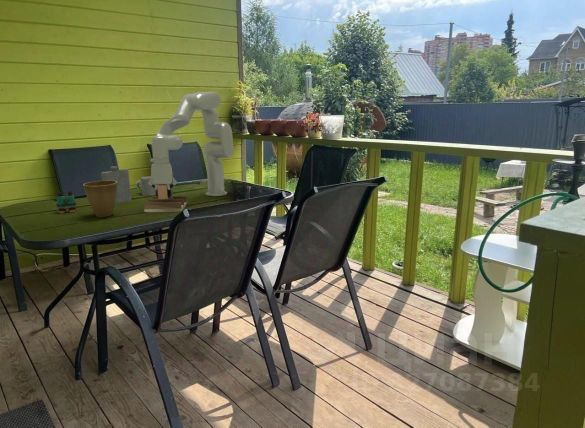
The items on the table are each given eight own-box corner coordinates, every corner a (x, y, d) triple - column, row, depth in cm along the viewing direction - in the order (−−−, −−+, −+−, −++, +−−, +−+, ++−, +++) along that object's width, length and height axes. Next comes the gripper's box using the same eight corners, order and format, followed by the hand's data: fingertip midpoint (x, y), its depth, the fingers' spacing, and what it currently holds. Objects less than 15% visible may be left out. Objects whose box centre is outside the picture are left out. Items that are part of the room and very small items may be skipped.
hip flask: (106, 205, 233) (102, 168, 228) (102, 204, 235) (98, 167, 230) (132, 200, 245) (129, 165, 241) (128, 199, 248) (124, 164, 243)
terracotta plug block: (160, 197, 223) (159, 184, 221) (169, 197, 223) (168, 183, 221) (158, 199, 219) (157, 185, 217) (167, 199, 219) (166, 185, 218)
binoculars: (74, 189, 225) (74, 191, 216) (76, 210, 227) (77, 212, 218) (54, 191, 221) (54, 192, 212) (57, 212, 223) (57, 214, 214)
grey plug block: (164, 202, 232) (163, 189, 230) (173, 202, 232) (172, 189, 230) (163, 204, 228) (162, 191, 226) (171, 204, 228) (170, 191, 227)
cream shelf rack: (153, 204, 235) (152, 196, 234) (187, 203, 236) (186, 195, 235) (144, 212, 217) (143, 203, 216) (181, 211, 218) (180, 202, 217)
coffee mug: (162, 192, 267) (161, 176, 265) (152, 195, 258) (150, 179, 256) (144, 191, 272) (142, 175, 269) (133, 194, 263) (131, 178, 260)
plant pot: (96, 212, 219) (92, 180, 215) (125, 212, 218) (122, 180, 215) (81, 219, 204) (76, 185, 201) (112, 219, 204) (108, 185, 200)
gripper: (141, 162, 213) (144, 199, 217) (176, 161, 214) (179, 198, 218) (145, 160, 220) (148, 196, 224) (179, 160, 221) (182, 195, 225)
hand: (163, 196), depth 221 cm, fingers closed on terracotta plug block, 4 cm apart
